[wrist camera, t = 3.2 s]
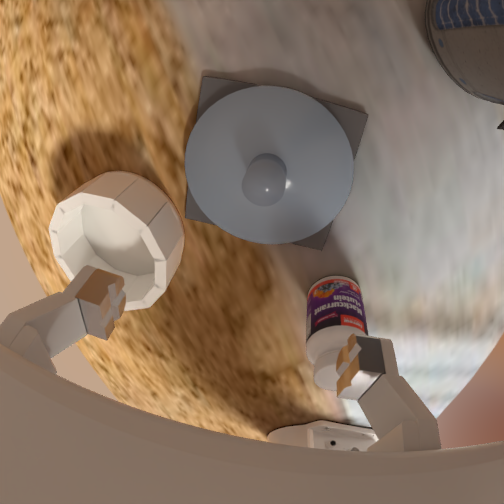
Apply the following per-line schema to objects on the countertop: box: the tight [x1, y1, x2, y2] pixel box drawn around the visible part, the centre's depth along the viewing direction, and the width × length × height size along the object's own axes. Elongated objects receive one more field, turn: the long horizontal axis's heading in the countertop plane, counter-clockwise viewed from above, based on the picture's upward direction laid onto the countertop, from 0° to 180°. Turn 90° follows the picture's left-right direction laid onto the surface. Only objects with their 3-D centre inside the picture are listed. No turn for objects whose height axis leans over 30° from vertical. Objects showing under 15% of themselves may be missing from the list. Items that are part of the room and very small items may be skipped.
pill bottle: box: [306, 276, 368, 391], centre depth 26 cm, size 5×5×10 cm
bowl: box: [49, 171, 185, 311], centre depth 27 cm, size 12×12×5 cm
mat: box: [185, 76, 368, 251], centre depth 23 cm, size 12×12×1 cm
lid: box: [185, 86, 354, 244], centre depth 21 cm, size 13×13×4 cm
